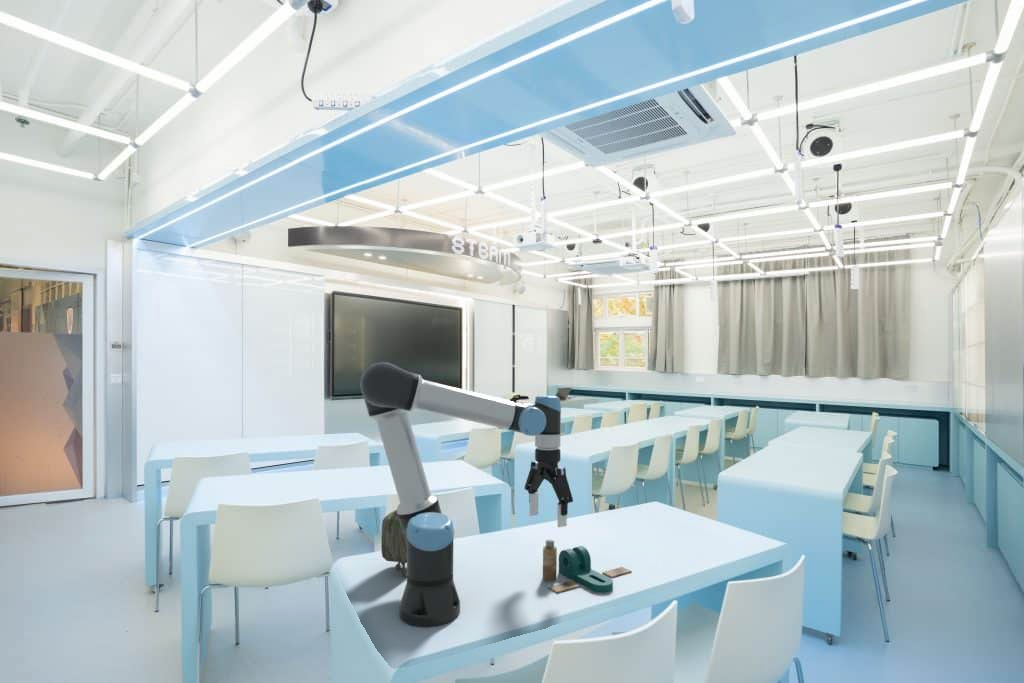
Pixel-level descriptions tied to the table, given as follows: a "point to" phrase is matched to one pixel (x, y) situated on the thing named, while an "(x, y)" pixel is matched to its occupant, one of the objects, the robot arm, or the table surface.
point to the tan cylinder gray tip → (549, 561)
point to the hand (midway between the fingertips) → (547, 520)
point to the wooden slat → (572, 585)
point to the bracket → (583, 570)
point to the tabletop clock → (393, 541)
